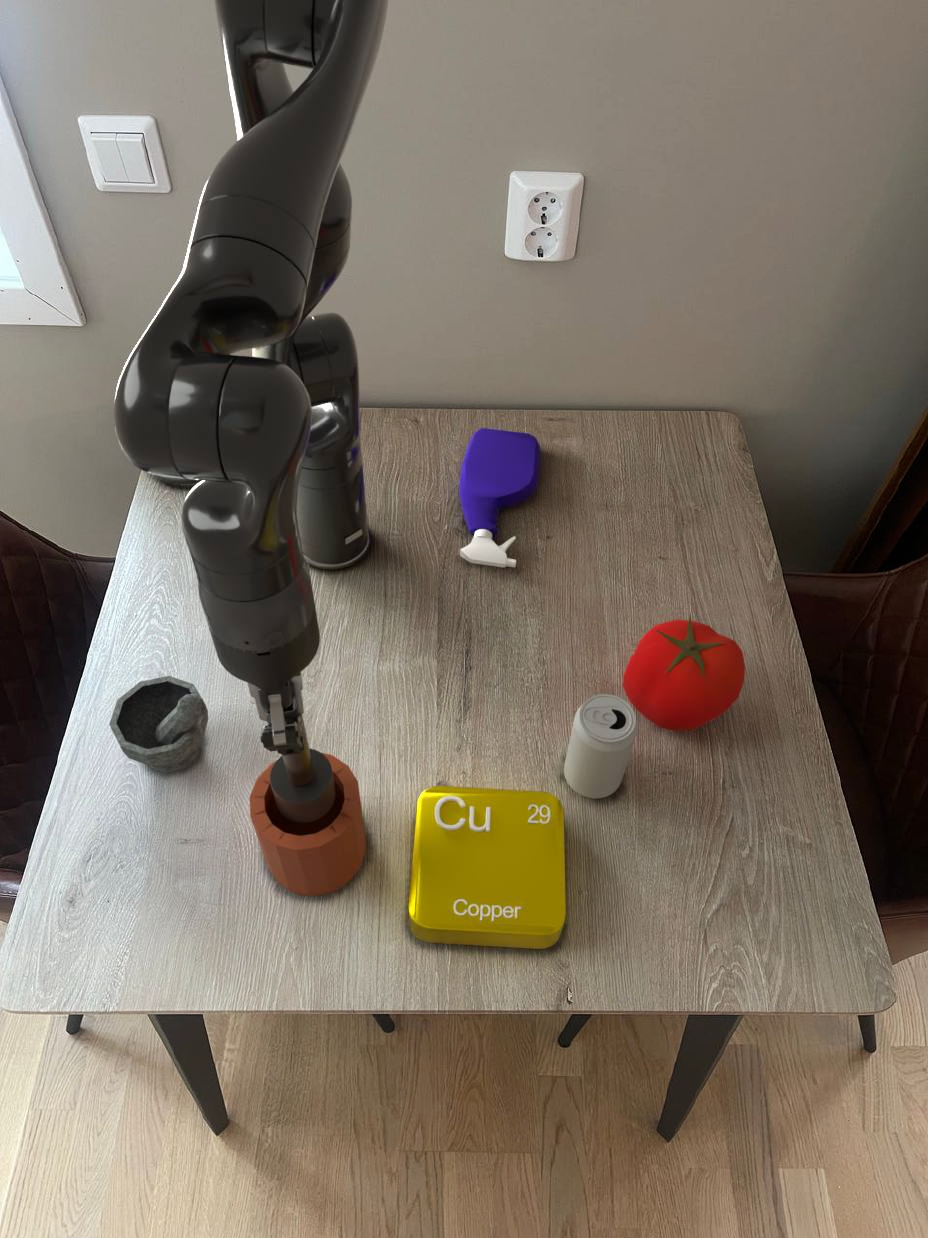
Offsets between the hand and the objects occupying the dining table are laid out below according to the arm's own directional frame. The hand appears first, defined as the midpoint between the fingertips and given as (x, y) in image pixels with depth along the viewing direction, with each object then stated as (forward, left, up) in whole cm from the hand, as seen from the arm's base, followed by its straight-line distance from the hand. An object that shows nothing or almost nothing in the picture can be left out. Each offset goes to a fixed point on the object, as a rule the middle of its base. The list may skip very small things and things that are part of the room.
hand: (290, 734), depth 78 cm
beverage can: (+19, +24, -23) cm, 38 cm away
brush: (0, 0, -11) cm, 11 cm away
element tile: (+16, +8, -23) cm, 29 cm away
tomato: (+22, +38, -23) cm, 49 cm away
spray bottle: (-13, +53, -23) cm, 59 cm away
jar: (0, 0, -22) cm, 22 cm away
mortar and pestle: (-20, 0, -23) cm, 30 cm away
